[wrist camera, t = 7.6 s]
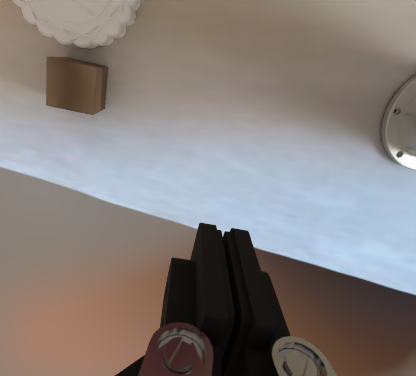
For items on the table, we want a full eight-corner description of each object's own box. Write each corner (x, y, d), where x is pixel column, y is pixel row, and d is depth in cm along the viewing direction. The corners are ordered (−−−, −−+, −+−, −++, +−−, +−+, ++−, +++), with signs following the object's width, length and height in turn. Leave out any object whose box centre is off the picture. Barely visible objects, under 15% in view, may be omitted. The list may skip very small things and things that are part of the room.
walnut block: (108, 67, 32) (96, 68, 28) (104, 108, 34) (92, 114, 30) (65, 57, 32) (46, 56, 28) (64, 99, 33) (46, 105, 29)
